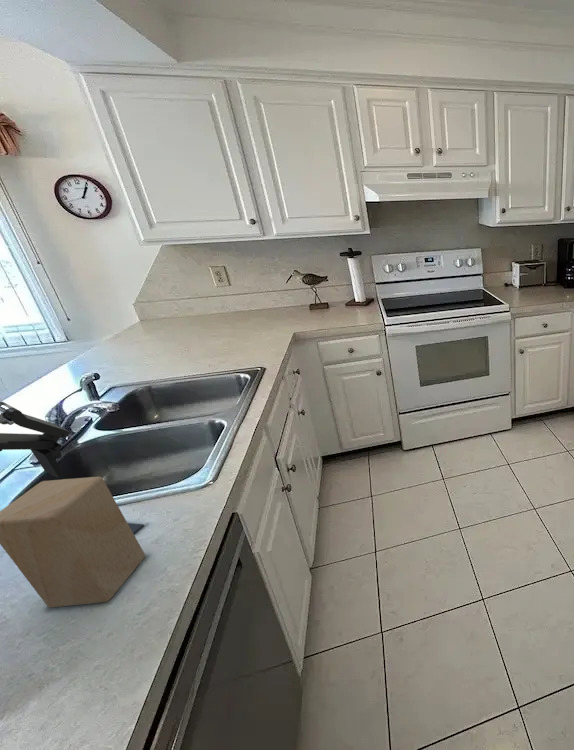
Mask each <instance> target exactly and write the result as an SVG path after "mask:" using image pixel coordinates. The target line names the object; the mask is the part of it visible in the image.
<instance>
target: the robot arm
mask: <svg viewBox="0 0 574 750" xmlns="http://www.w3.org/2000/svg"><path fill="white" fill-rule="evenodd" d="M0 424H1V425H3V426H5V425H8V426H12V425H14V424H15V425H17V426H18V427H21V428H25V429H28V430H31V431H35V432H38V433H14V432H13V433H12V432H11V433H8V432H7V433H6V432H0V452H2V451H3V450H4V451H5V450H11V451H12V450H13V451H15V450H16V451H17V450H20V451H21V450H22V451H23V450H24V451H25V450H30V451H31V453H32V454H33V456H34V457H35V458H36V461H37V462H38V464H39V465H40V466H41V468H42V469H43V471H44V472H45V473H47V474H49V475H51V476H53V477H55V478H58V480H62V479H64V477H66V474H65V472H64V471H63V469H62V467H61V465H60V464H59V463H58V460H59V459H61V458H62V455H63V454H62V452H61V449H62V444H61V443H59V442H58V441H59V440H61V439H65V438H67V437H68V436H69V435H70V431H69V430H67V429H65V428H63V427H62V426H60V425H58V424H56V423H53V422H50V421H47V420H44V419H41V418H38V417H35V416H32V415H28V414H25V413H23V412H22V411H21V410H19V409H17V408H15V407H14V406H13V405H10V404H8V403H7V402H4V401H0Z"/></svg>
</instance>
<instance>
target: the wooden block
mask: <svg viewBox="0 0 574 750" xmlns="http://www.w3.org/2000/svg"><path fill="white" fill-rule="evenodd" d="M128 523H129V522H127V520H126V518H125V516H124V515H123V512H122V511H121V509H120V507H119V506H118V503H117V501H116V500H115V498H114V495H112V493H111V491H110V489H109V487H108V486H107V484H106V482H105V480H104V479H103V477H102V476H89V477H76V478H62V479H53V480H52V479H51V480H42V481H39V483H37V484H35V485H34V486H33V487H31V488H29V490H27V491H26V492H25V493H24V494H22V495H21V496H19V497H18V498H16V499H15V500H13V501H12V502H10V503H9V504H8V505H7V506H5V507H4V508H3V509H1V510H0V546H1V547H2V549H3V550H4V551H5V553H6V554H7V555H8V557H9V558H10V559H11V560H12V563H14V565H15V566H16V567H17V569H18V570H19V571H20V572H21V574H22V575H23V576H24V577H25V579H26V580H27V582H28V583H29V584H30V585H31V587H32V588H33V589H34V591H35V592H36V594H37V595H38V596H39V597H40V599H41V601H43V603H44V604H45V605H46V606H47V607H48V608H59V607H60V608H61V607H68V606H70V607H71V606H79V605H89V604H98V603H99V604H100V603H108V602H109V601H110V600H111V599H112V598H113V597H114V596H115V594H116V593H117V592H118V591H119V590H120V588H122V586H123V585H124V584H125V582H126V581H127V580H128V578H129V577H130V576H131V575H132V574H133V573H134V571H135V570H136V569H137V568H138V566H140V564H141V563H142V562H143V560H144V559H145V558H146V553H145V552H144V550H143V548H142V547H141V545H140V543H139V541H138V539H137V537H136V535H135V534H133V532H132V530H131V529H130V527H129V525H128Z"/></svg>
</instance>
